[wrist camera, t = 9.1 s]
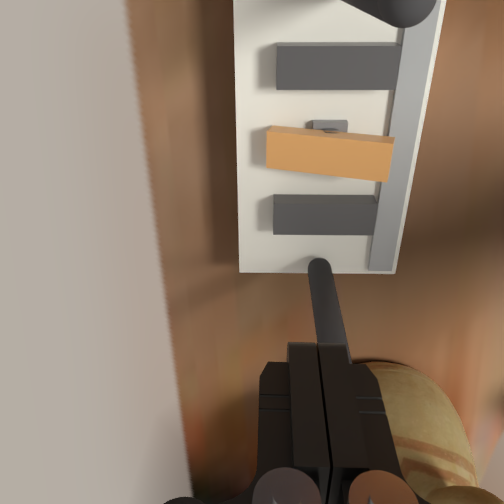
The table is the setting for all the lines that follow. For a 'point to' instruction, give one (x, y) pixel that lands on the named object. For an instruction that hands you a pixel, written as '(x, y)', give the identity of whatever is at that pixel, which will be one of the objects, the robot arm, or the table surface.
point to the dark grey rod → (326, 304)
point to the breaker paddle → (329, 152)
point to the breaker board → (323, 117)
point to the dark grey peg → (396, 10)
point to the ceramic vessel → (428, 437)
